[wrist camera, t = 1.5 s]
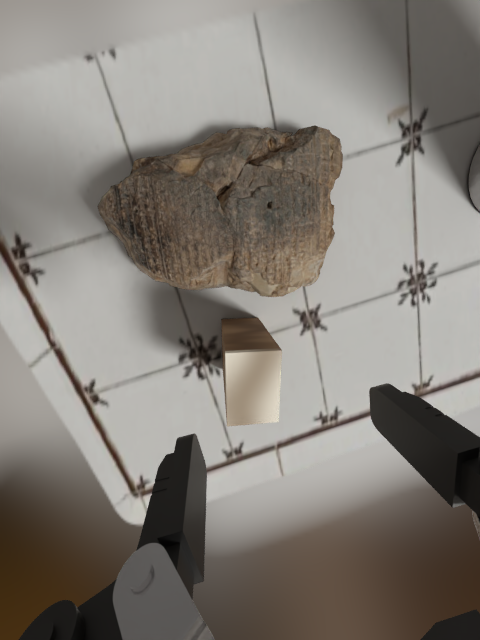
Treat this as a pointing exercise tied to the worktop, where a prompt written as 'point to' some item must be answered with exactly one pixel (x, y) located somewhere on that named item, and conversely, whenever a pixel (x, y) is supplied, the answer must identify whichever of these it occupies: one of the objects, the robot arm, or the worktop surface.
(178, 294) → the worktop surface
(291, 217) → the clay tablet
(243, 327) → the walnut block
